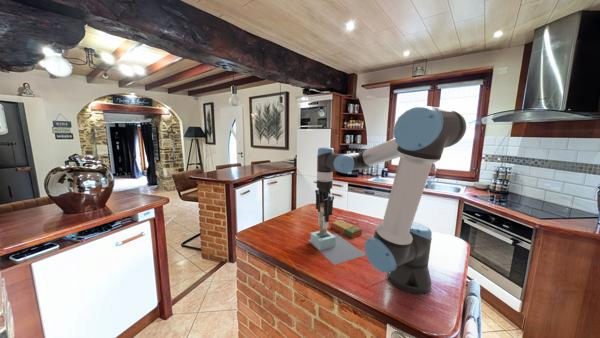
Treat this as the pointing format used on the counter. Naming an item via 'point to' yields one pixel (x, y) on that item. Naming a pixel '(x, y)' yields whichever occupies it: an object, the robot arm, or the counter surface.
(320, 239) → the rectangular frame
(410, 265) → the robot arm
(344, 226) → the carton
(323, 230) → the tan wooden dowel
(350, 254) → the mat
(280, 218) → the counter surface
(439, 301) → the counter surface
